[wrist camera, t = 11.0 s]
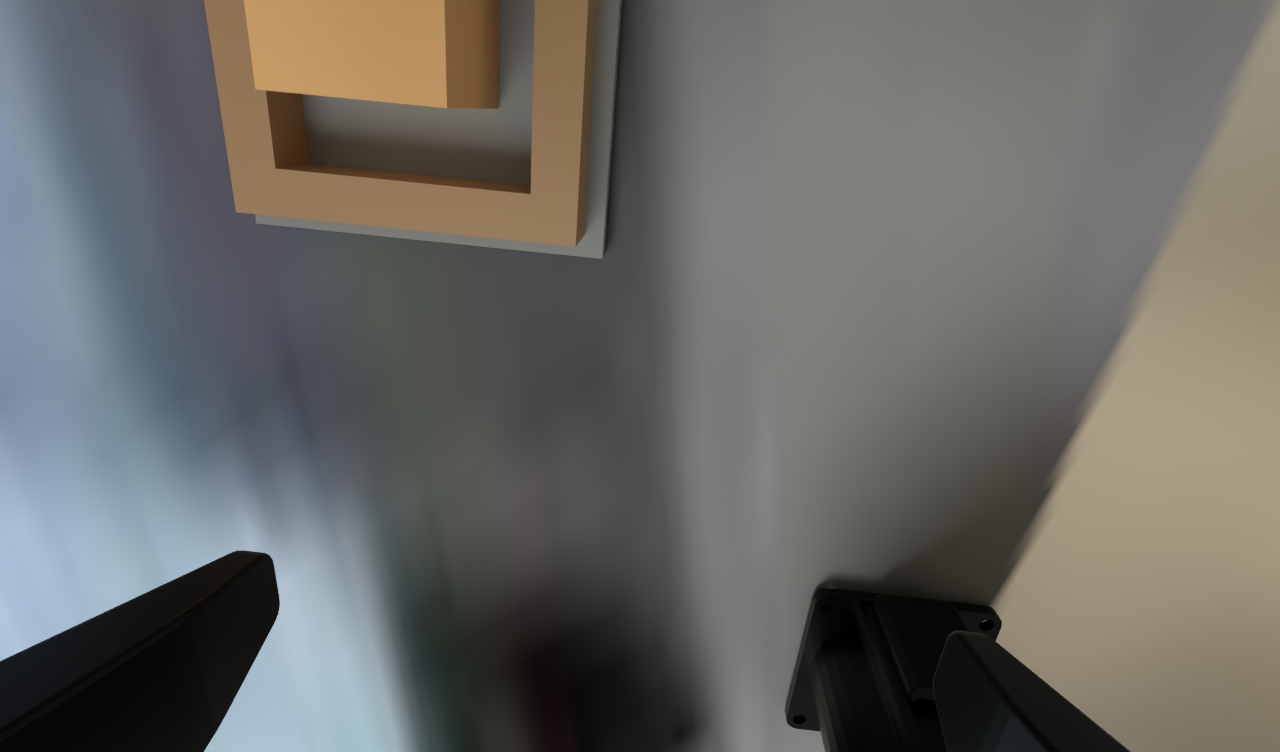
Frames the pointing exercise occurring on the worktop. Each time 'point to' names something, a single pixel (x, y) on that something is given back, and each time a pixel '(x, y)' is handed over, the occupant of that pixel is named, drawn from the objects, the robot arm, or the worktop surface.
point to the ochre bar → (378, 50)
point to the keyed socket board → (438, 141)
